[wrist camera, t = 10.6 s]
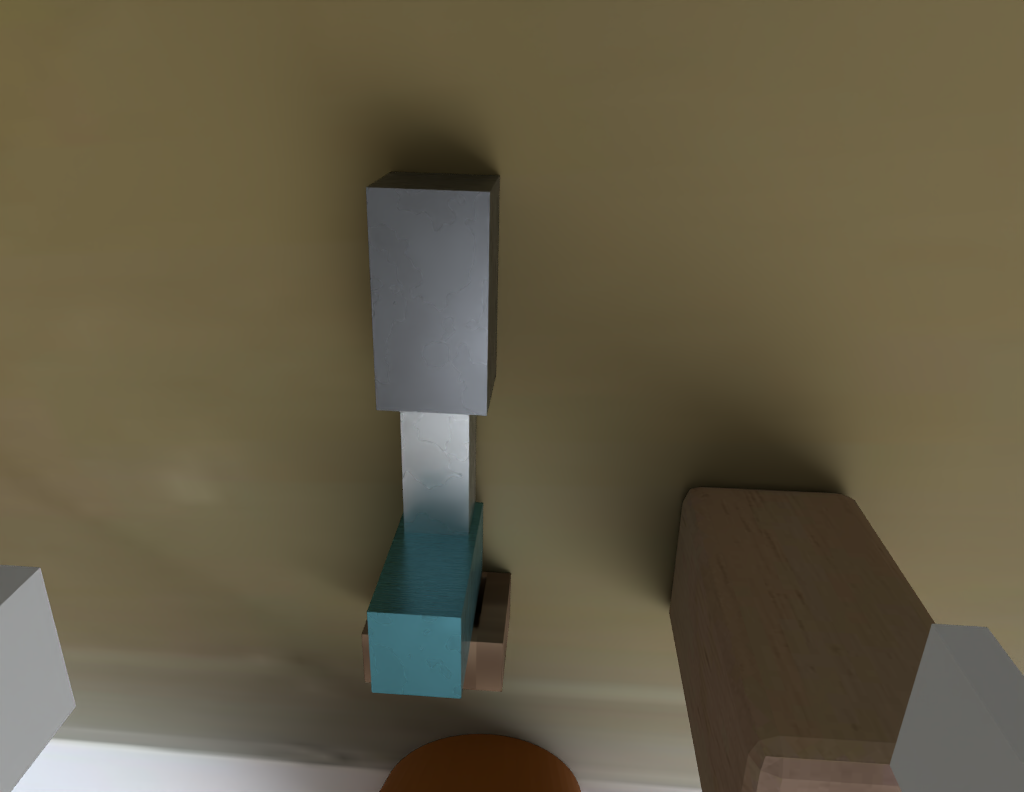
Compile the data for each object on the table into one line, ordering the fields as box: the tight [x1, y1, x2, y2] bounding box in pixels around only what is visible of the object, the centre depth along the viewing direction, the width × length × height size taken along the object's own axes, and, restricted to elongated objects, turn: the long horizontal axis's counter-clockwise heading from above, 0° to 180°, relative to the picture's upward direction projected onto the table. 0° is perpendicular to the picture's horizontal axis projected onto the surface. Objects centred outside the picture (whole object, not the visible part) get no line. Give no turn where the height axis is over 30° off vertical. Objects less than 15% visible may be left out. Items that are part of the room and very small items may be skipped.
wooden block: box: [669, 487, 935, 792], centre depth 38 cm, size 10×10×20 cm
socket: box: [362, 572, 511, 692], centre depth 47 cm, size 4×8×6 cm, turn 88°
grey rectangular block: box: [366, 172, 500, 416], centre depth 40 cm, size 11×6×6 cm, turn 178°
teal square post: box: [367, 411, 483, 699], centre depth 41 cm, size 19×4×10 cm, turn 178°
